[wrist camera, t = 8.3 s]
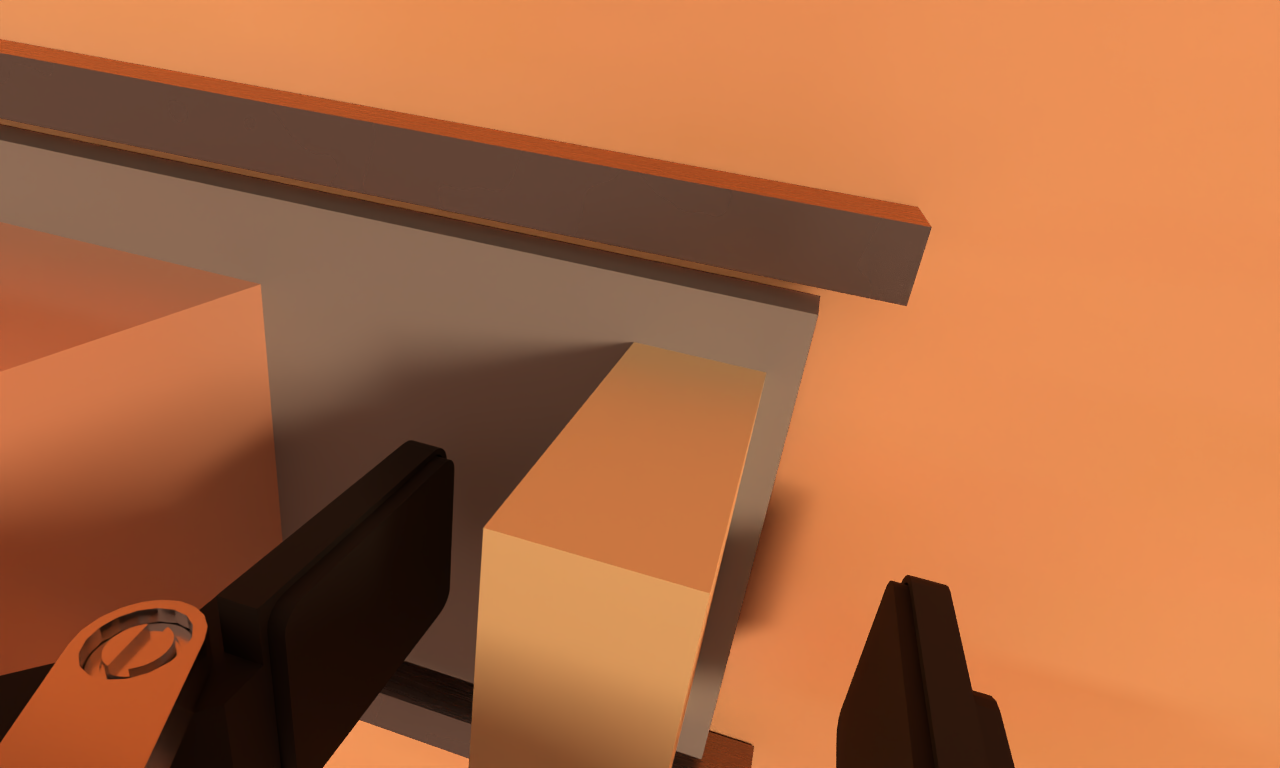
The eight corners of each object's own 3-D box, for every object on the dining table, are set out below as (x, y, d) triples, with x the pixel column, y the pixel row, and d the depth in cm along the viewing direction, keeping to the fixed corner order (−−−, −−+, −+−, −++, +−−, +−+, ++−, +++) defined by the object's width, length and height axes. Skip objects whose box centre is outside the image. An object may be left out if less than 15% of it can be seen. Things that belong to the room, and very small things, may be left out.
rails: (744, 779, 15) (733, 852, 13) (-344, 415, 20) (-433, 440, 19) (918, 207, 10) (931, 226, 8) (-584, -68, 15) (-729, -84, 14)
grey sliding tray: (819, 296, 11) (800, 506, 5) (709, 717, 14) (632, 1093, 9) (-109, 101, 14) (-717, 109, 8) (0, 489, 17) (-372, 666, 12)
